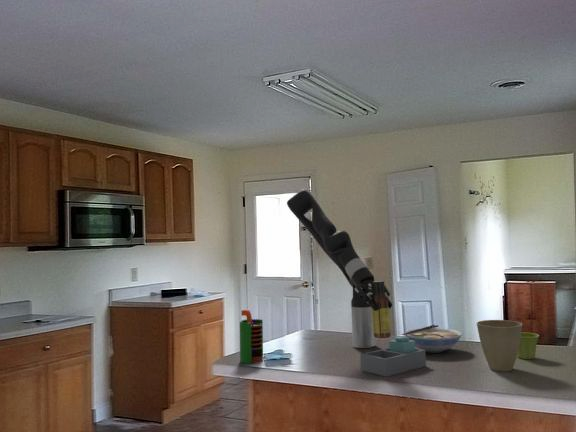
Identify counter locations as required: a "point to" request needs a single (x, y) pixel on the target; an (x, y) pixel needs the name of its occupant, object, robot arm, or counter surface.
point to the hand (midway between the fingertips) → (383, 308)
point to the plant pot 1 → (500, 342)
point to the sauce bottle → (381, 312)
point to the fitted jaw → (402, 345)
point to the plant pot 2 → (527, 345)
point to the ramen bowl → (433, 338)
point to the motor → (251, 339)
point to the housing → (392, 361)
